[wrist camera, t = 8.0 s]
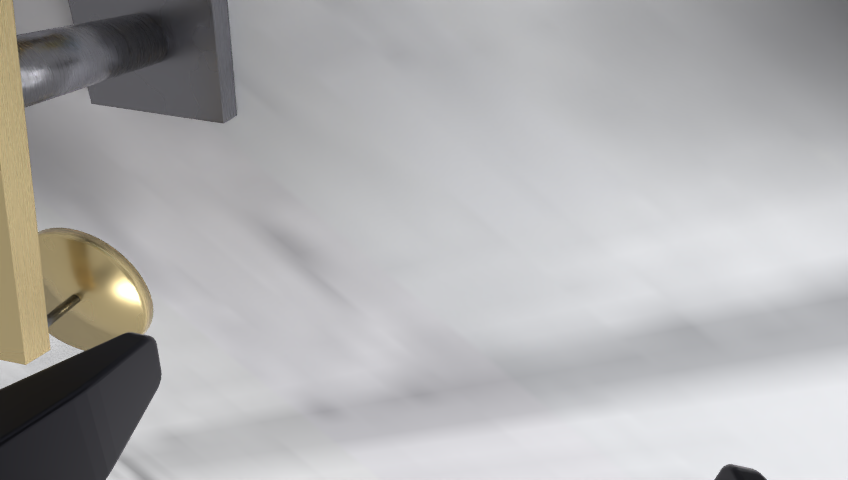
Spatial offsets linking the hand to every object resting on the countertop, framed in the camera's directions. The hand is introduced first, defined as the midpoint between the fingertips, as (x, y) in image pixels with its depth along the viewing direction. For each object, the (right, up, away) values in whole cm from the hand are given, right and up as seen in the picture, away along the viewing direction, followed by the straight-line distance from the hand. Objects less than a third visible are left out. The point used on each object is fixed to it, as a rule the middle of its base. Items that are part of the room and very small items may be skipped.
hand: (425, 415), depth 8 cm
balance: (-9, +10, +10) cm, 17 cm away
